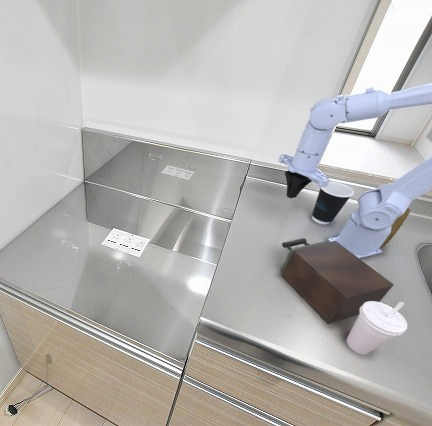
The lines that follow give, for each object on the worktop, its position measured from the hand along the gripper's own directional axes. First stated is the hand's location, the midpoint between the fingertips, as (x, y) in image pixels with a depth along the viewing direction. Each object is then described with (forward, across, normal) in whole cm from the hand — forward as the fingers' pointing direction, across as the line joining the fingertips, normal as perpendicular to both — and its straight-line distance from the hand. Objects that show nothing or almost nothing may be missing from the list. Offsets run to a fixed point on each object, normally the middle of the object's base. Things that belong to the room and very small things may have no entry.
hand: (291, 196), depth 80 cm
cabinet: (+10, +23, -7) cm, 26 cm away
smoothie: (+11, +35, -11) cm, 38 cm away
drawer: (+9, +19, -7) cm, 22 cm away
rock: (+11, +11, +22) cm, 27 cm away
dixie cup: (+11, +1, +14) cm, 18 cm away
